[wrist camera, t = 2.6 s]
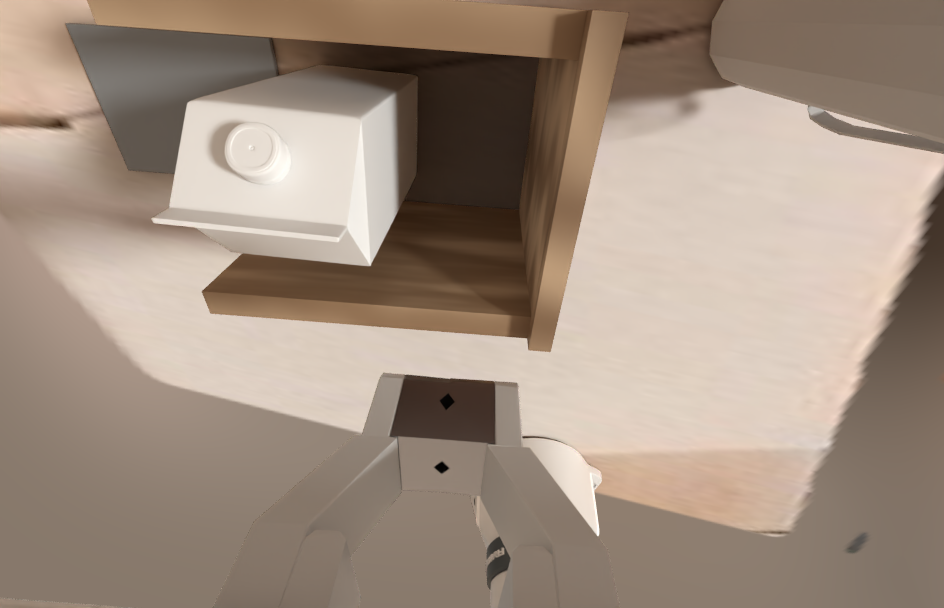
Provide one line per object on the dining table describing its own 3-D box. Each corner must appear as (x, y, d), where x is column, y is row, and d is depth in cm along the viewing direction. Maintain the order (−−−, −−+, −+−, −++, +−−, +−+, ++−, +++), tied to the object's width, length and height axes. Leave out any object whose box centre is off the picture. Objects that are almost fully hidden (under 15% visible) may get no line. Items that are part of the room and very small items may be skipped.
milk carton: (417, 174, 33) (347, 314, 17) (330, 165, 33) (181, 297, 17) (418, 74, 29) (327, 142, 13) (318, 63, 29) (110, 119, 13)
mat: (298, 181, 34) (296, 183, 33) (132, 168, 34) (128, 170, 33) (271, 38, 28) (268, 38, 28) (70, 23, 28) (65, 23, 28)
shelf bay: (530, 227, 35) (550, 351, 22) (310, 210, 35) (200, 324, 22) (563, 14, 26) (629, 12, 13) (270, -7, 26) (50, -30, 13)
